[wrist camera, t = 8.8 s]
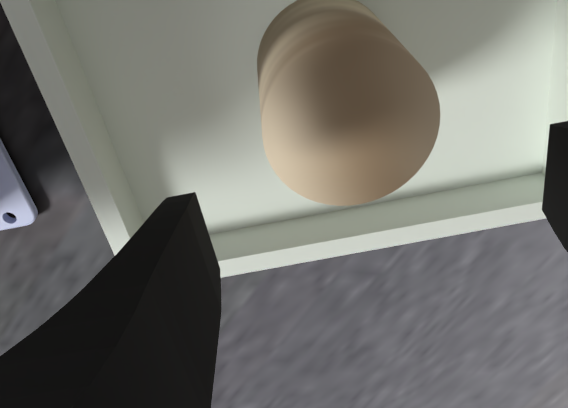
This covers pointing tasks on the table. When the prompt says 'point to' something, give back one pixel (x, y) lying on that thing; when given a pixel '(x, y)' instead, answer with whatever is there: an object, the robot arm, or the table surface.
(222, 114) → the tray
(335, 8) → the beige rounded cylinder
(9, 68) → the table surface
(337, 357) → the table surface
